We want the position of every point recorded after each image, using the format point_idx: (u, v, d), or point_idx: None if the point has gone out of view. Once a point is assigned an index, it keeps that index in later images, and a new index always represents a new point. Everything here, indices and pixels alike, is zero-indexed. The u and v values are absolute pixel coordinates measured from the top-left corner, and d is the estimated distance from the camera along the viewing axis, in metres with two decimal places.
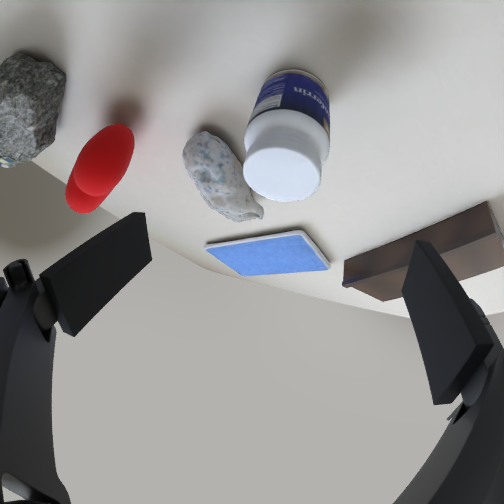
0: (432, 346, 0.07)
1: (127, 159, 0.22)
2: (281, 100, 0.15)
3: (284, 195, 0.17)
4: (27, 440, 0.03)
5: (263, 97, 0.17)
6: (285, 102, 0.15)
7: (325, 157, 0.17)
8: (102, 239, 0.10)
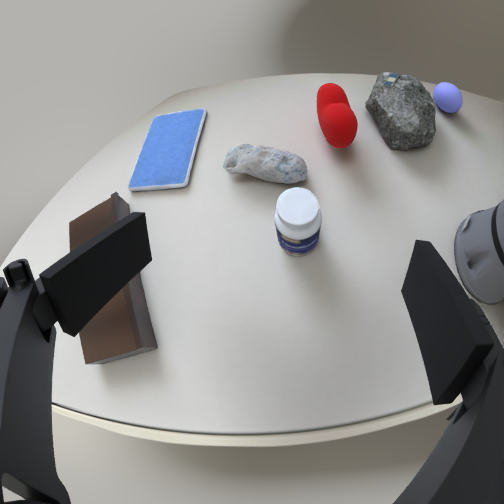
0: (433, 347, 0.07)
1: (331, 137, 0.36)
2: (319, 229, 0.33)
3: (284, 199, 0.30)
4: (27, 440, 0.03)
5: None
6: (318, 230, 0.32)
7: (284, 231, 0.31)
8: (102, 239, 0.10)
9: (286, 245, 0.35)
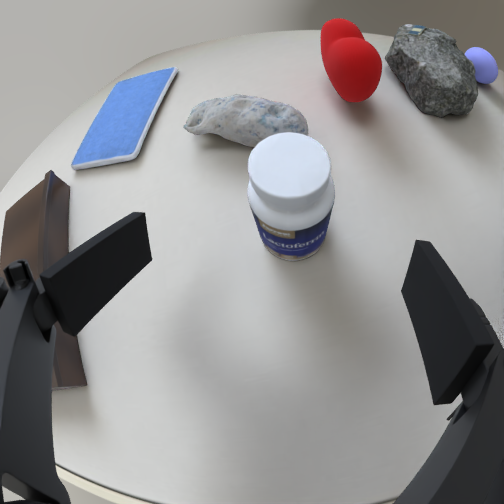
0: (433, 347, 0.07)
1: (344, 79, 0.21)
2: (330, 213, 0.18)
3: (262, 152, 0.15)
4: (27, 441, 0.03)
5: None
6: (329, 215, 0.17)
7: (265, 215, 0.16)
8: (102, 239, 0.10)
9: (270, 242, 0.20)
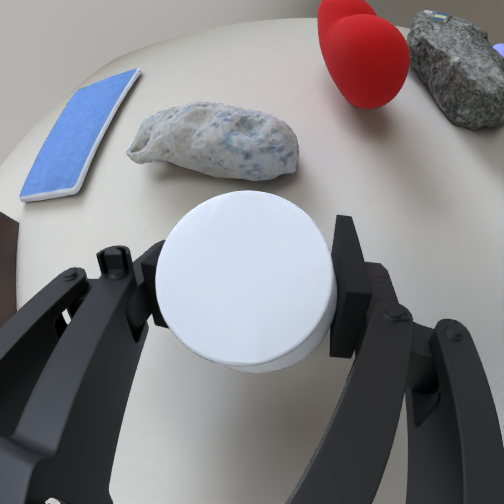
0: None
1: (353, 75, 0.13)
2: None
3: (185, 245, 0.07)
4: (85, 459, 0.03)
5: None
6: None
7: None
8: None
9: None
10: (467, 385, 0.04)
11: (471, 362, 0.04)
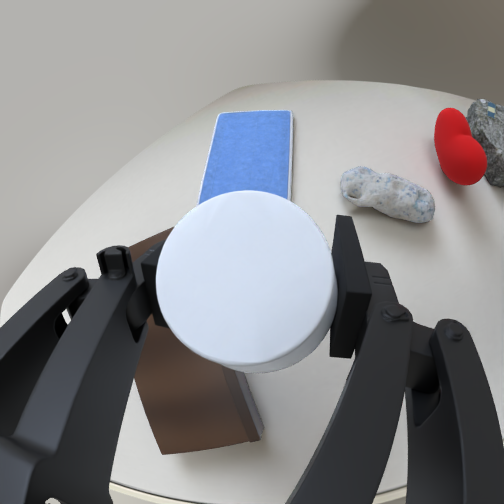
0: None
1: (462, 173, 0.26)
2: None
3: (186, 245, 0.07)
4: (85, 459, 0.03)
5: None
6: None
7: None
8: None
9: None
10: (467, 385, 0.04)
11: (472, 362, 0.04)
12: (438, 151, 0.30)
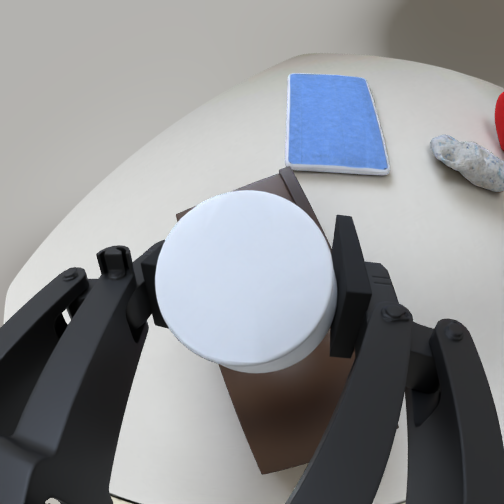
0: None
1: None
2: None
3: (185, 245, 0.07)
4: (85, 459, 0.03)
5: None
6: None
7: None
8: None
9: None
10: (467, 385, 0.04)
11: (471, 362, 0.04)
12: (501, 129, 0.24)
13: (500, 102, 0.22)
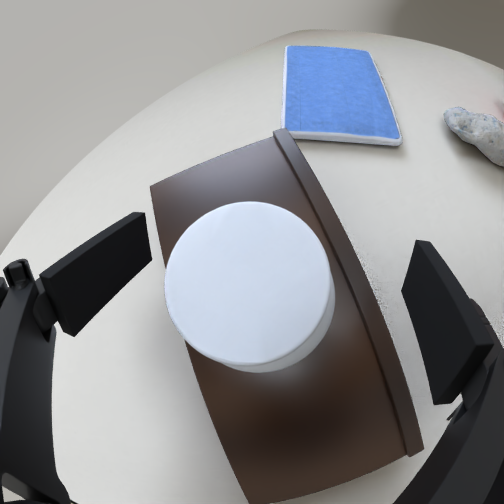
0: (433, 347, 0.07)
1: None
2: None
3: (193, 253, 0.08)
4: (27, 441, 0.03)
5: None
6: None
7: None
8: (102, 239, 0.10)
9: None
10: None
11: None
12: None
13: None
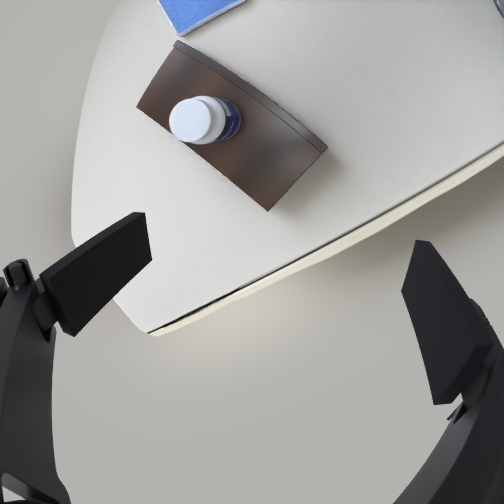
0: (433, 347, 0.07)
1: None
2: (228, 116, 0.28)
3: (174, 122, 0.25)
4: (27, 441, 0.03)
5: (227, 104, 0.28)
6: (227, 118, 0.28)
7: (196, 142, 0.28)
8: (102, 239, 0.10)
9: None
10: None
11: None
12: None
13: None
